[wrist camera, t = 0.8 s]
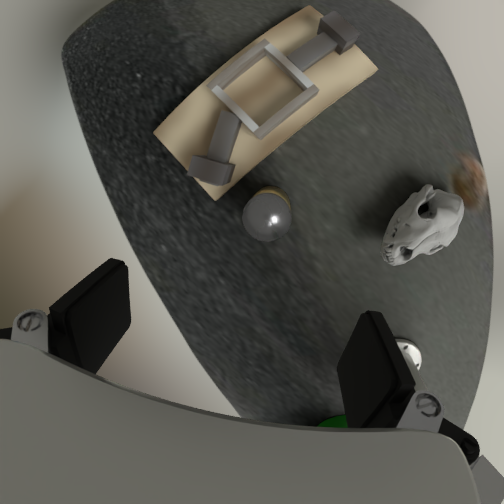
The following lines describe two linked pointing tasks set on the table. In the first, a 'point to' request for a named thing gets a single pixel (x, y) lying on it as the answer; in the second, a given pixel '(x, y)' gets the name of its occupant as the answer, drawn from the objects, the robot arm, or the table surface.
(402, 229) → the skull
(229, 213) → the table surface
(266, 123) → the stand
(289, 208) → the gold cylinder
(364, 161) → the table surface
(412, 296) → the table surface
